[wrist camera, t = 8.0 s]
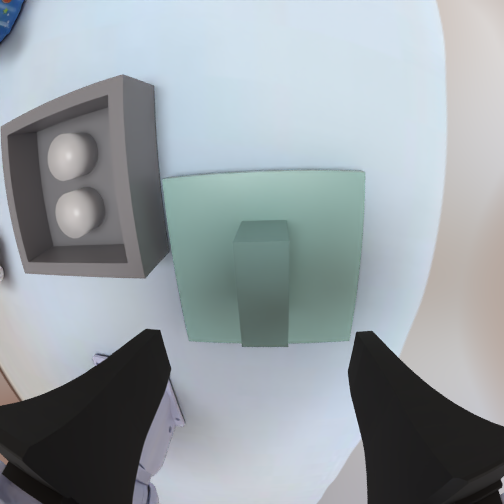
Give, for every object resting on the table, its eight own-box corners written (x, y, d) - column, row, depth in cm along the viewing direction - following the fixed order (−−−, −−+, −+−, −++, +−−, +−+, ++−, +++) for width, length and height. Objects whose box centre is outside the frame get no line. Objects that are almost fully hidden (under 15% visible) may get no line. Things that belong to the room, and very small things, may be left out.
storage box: (169, 251, 19) (145, 278, 15) (55, 253, 20) (25, 273, 16) (153, 85, 15) (122, 74, 11) (36, 123, 16) (0, 126, 12)
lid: (345, 329, 20) (359, 375, 15) (193, 329, 21) (175, 374, 16) (358, 169, 16) (388, 181, 11) (170, 176, 17) (134, 190, 12)
